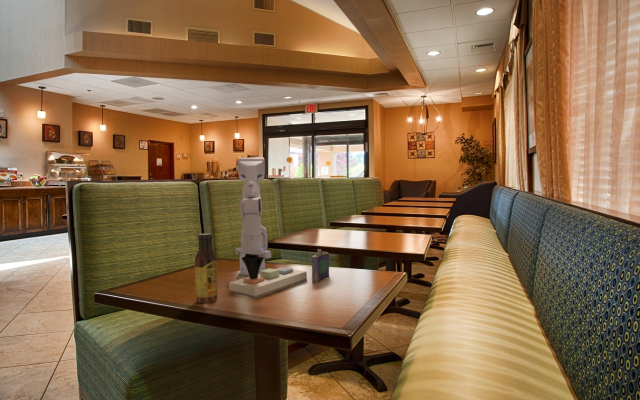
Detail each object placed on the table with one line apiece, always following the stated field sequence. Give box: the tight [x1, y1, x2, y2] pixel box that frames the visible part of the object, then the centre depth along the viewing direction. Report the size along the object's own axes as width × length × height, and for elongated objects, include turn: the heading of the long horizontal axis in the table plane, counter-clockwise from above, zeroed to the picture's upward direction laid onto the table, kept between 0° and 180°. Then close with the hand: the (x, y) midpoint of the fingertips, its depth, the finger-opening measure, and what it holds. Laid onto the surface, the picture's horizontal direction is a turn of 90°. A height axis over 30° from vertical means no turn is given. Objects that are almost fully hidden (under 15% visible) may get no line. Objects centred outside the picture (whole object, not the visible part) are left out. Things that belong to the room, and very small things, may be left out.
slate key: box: [275, 266, 294, 275], centre depth 128 cm, size 4×4×3 cm
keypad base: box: [228, 266, 308, 299], centre depth 123 cm, size 12×24×3 cm, turn 142°
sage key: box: [260, 267, 279, 279], centre depth 122 cm, size 4×4×3 cm
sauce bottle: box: [194, 233, 219, 304], centre depth 109 cm, size 7×6×20 cm
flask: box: [311, 248, 330, 283], centre depth 130 cm, size 9×3×11 cm, turn 146°
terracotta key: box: [244, 276, 264, 285], centre depth 117 cm, size 4×4×3 cm
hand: (253, 278), depth 117 cm, fingers closed, pressing on terracotta key
